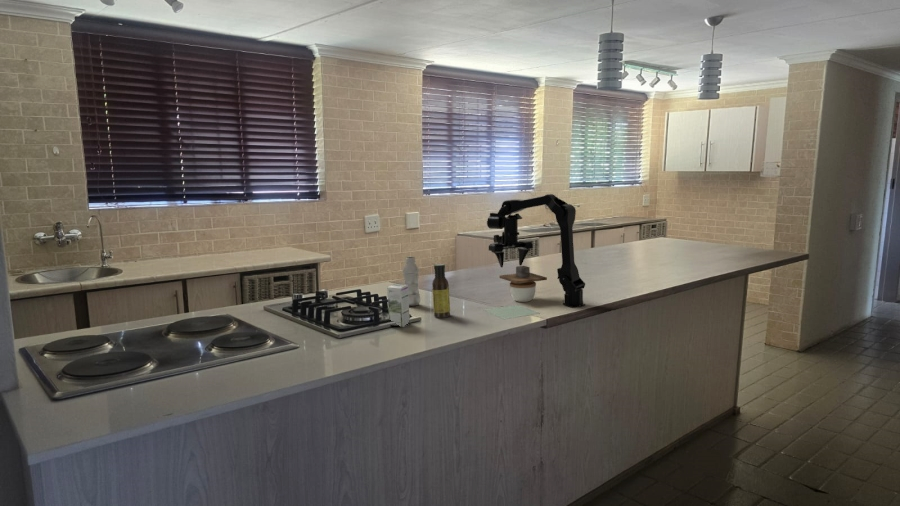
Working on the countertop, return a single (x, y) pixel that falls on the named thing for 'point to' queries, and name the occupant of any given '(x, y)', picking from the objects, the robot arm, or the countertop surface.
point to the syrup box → (398, 304)
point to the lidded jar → (523, 291)
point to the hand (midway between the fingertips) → (511, 266)
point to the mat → (511, 311)
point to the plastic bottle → (412, 280)
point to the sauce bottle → (440, 293)
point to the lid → (522, 276)
